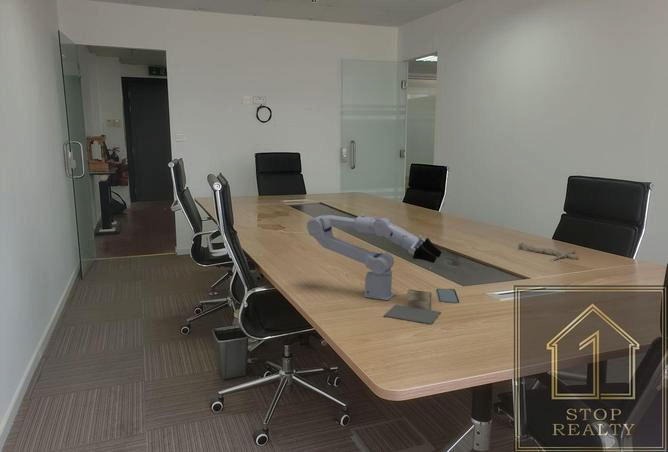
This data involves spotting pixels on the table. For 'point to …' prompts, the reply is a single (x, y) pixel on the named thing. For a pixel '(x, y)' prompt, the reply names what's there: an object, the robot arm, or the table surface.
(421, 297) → the brown wooden block
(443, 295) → the smartphone
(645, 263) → the table surface
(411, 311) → the mat
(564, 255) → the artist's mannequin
